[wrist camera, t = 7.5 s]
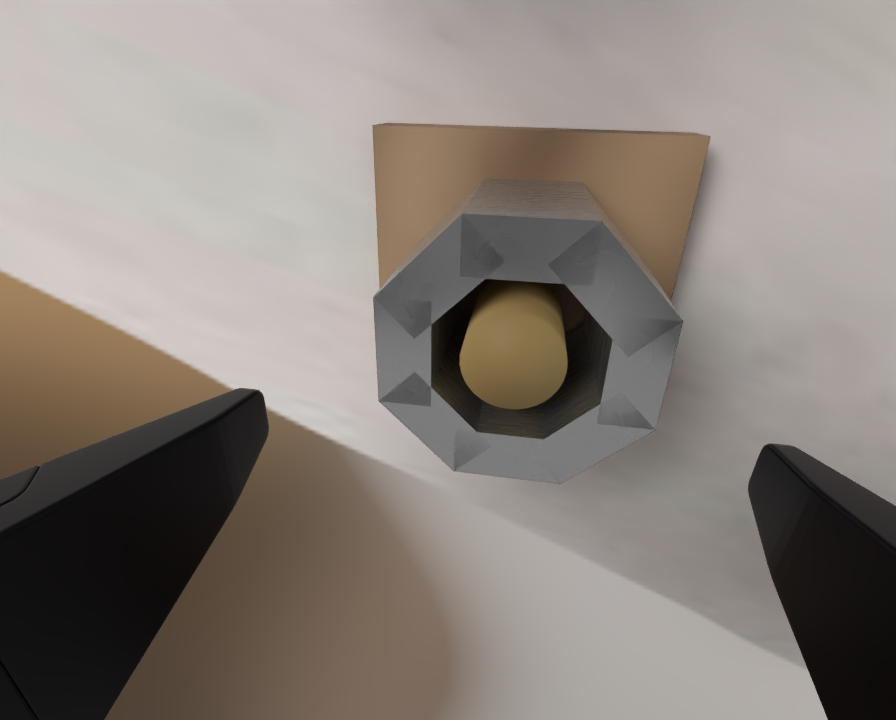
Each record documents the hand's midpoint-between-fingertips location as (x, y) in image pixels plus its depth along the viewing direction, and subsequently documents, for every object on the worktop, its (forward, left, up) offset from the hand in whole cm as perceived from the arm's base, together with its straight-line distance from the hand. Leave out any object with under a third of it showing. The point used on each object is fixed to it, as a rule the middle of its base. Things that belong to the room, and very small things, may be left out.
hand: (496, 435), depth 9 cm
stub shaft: (0, 0, -9) cm, 9 cm away
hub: (0, 0, -8) cm, 8 cm away
